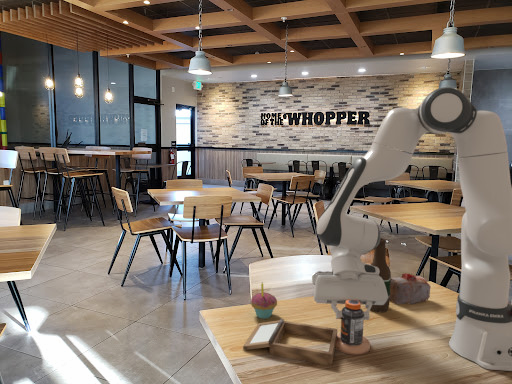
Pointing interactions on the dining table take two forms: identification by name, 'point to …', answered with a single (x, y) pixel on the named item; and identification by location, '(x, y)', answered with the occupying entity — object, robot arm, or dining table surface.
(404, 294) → the food item
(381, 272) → the beer bottle
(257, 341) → the lid
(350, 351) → the pink round plate
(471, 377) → the dining table surface
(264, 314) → the cupcake
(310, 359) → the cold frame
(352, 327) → the pill bottle
